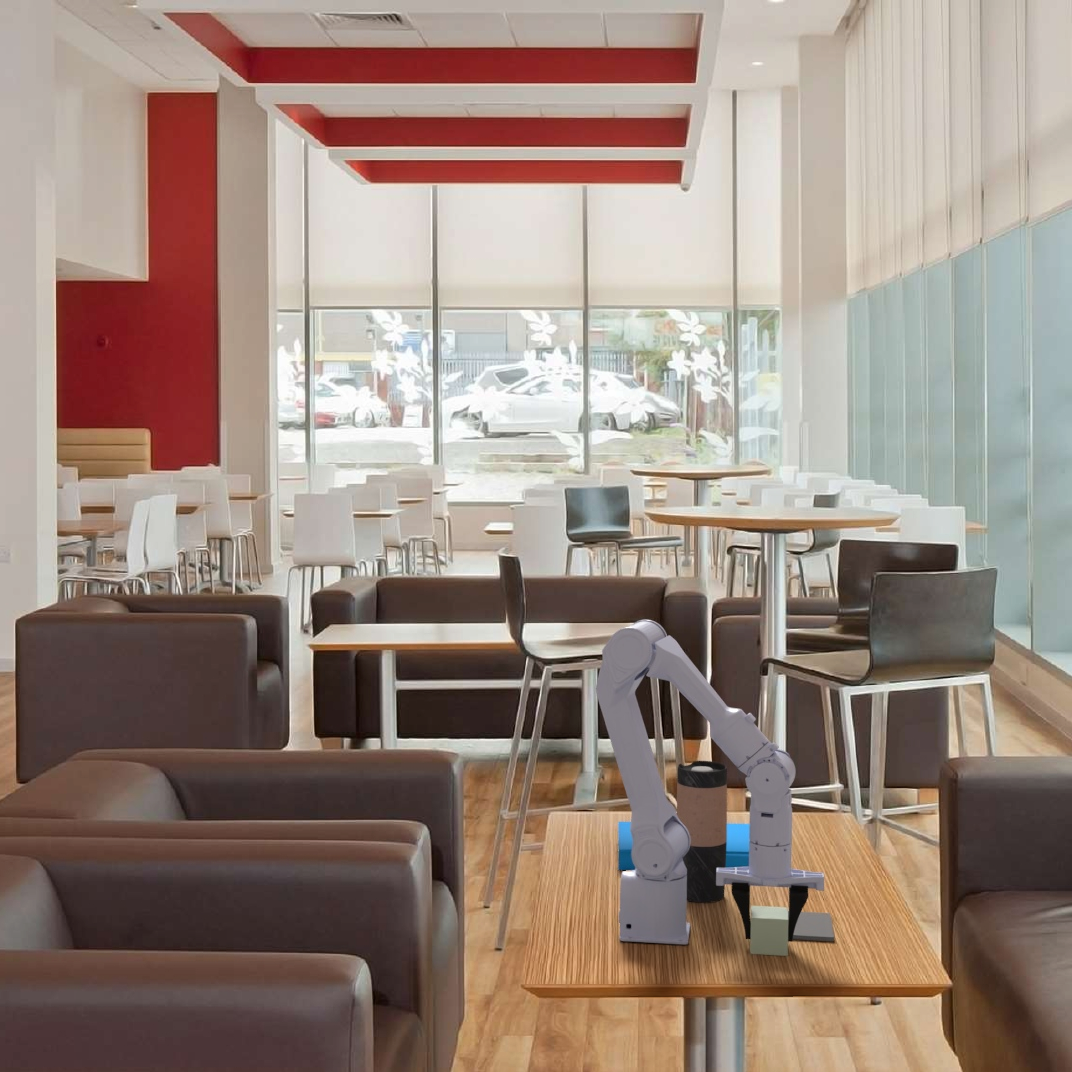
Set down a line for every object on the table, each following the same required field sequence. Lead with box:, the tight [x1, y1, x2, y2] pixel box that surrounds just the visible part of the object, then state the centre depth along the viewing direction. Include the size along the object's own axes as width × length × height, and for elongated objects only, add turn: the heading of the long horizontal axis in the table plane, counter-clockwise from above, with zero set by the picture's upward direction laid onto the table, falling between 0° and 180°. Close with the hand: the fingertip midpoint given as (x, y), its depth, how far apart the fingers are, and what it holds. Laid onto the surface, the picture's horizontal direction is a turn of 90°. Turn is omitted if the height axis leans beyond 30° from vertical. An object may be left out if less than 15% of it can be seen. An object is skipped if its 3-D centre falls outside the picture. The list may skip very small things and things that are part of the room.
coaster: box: [788, 910, 835, 942], centre depth 204 cm, size 10×10×1 cm
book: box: [617, 821, 750, 871], centre depth 237 cm, size 17×4×25 cm
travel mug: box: [676, 760, 728, 904], centre depth 217 cm, size 8×8×20 cm
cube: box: [749, 905, 789, 957], centre depth 195 cm, size 5×5×5 cm
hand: (768, 938), depth 196 cm, fingers closed on cube, 5 cm apart
